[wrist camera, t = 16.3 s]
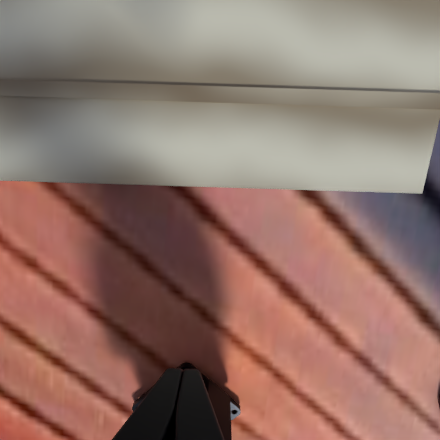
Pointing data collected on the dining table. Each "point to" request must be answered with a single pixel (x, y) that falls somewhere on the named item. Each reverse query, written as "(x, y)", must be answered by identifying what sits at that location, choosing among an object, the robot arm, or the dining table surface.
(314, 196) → the dining table surface
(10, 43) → the laid plank
